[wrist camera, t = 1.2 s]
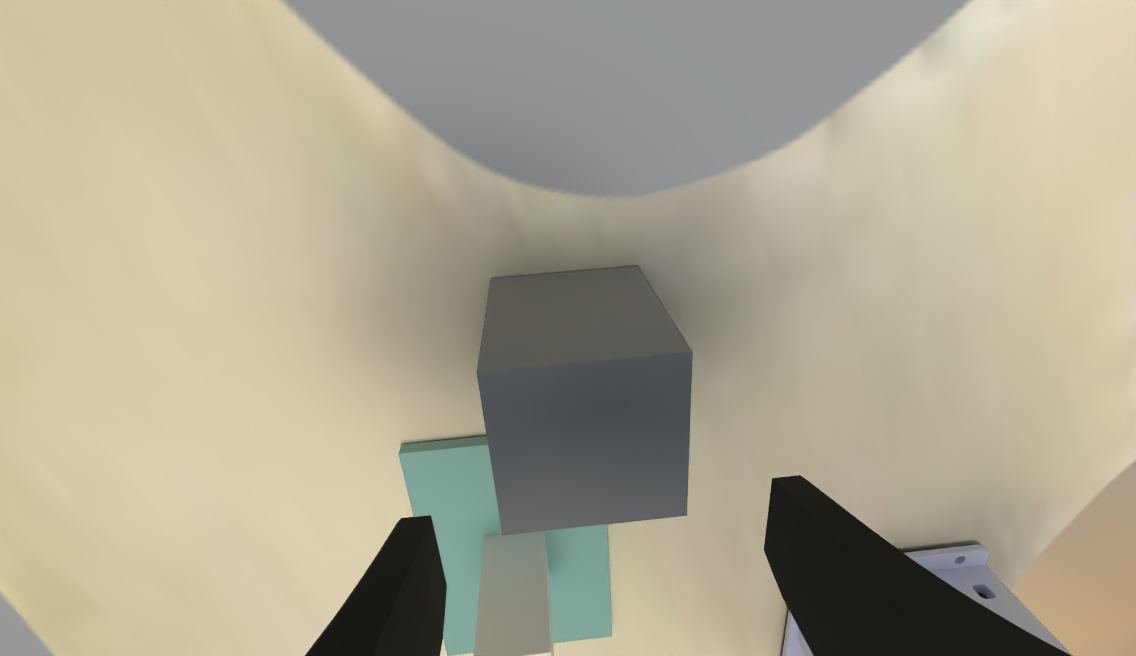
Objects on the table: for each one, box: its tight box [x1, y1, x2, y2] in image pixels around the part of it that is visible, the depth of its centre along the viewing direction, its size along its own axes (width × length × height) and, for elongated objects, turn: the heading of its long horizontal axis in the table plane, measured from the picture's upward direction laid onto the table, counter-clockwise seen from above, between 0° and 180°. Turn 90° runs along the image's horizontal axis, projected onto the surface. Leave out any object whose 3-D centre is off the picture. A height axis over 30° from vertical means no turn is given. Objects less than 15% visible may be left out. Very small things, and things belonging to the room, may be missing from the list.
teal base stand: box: [399, 436, 612, 656], centre depth 21 cm, size 8×12×6 cm, turn 4°
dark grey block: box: [477, 265, 692, 536], centre depth 17 cm, size 5×5×7 cm
